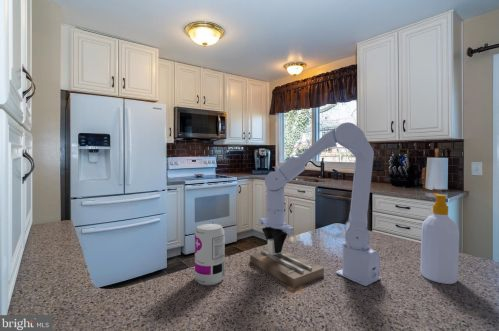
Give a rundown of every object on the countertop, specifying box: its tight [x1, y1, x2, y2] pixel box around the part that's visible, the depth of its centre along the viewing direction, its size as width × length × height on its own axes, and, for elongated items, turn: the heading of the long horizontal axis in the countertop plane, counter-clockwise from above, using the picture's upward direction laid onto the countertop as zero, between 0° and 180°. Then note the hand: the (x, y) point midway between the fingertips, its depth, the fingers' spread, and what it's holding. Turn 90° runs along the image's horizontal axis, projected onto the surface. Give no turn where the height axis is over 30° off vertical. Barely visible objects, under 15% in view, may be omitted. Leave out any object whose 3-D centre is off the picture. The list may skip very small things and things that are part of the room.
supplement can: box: [194, 222, 226, 286], centre depth 72 cm, size 8×8×15 cm
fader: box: [267, 238, 284, 257], centre depth 83 cm, size 3×4×5 cm
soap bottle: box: [419, 192, 460, 285], centre depth 74 cm, size 9×9×24 cm
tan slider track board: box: [249, 249, 325, 289], centre depth 79 cm, size 20×12×3 cm, turn 35°
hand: (275, 250), depth 83 cm, fingers closed on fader, 2 cm apart
